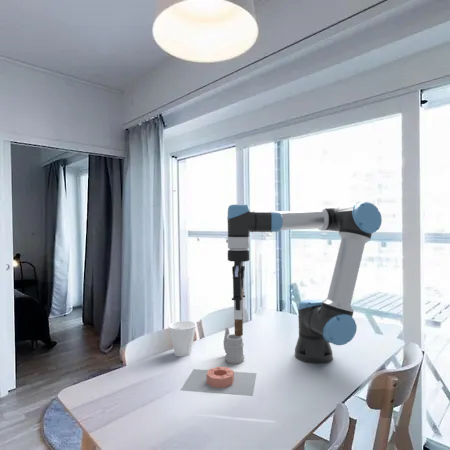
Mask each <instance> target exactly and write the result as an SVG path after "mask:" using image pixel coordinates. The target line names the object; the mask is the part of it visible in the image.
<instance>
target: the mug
mask: <svg viewBox="0 0 450 450" xmlns="http://www.w3.org/2000/svg"><path fill="white" fill-rule="evenodd" d="M243 342H244V341H243V335H242V336H235V333H231V334H230V329H229V327H228V326H227V327H225V332H224V336H223V349H224V352H225V356H224V358H225V361H226V362H227V363H228V364H233V365H238V364H241V363H243V362H244V359H245V355H244V343H243Z"/></svg>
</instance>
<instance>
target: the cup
mask: <svg viewBox="0 0 450 450" xmlns="http://www.w3.org/2000/svg"><path fill="white" fill-rule="evenodd" d="M196 326H197V323H196V322H194V321H189V320H180V321H174V322H172V323H169V325H168V329H169V334H170V339H171V342H172V347H173V352H174V355H175V356H176V357H178V356H179V357H180V358H182V357H185V356H187V357H188V356H190V355H191V354H192V349H193V343H194V339H195V332H196V328H197V327H196ZM179 357H178V358H179Z"/></svg>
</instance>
